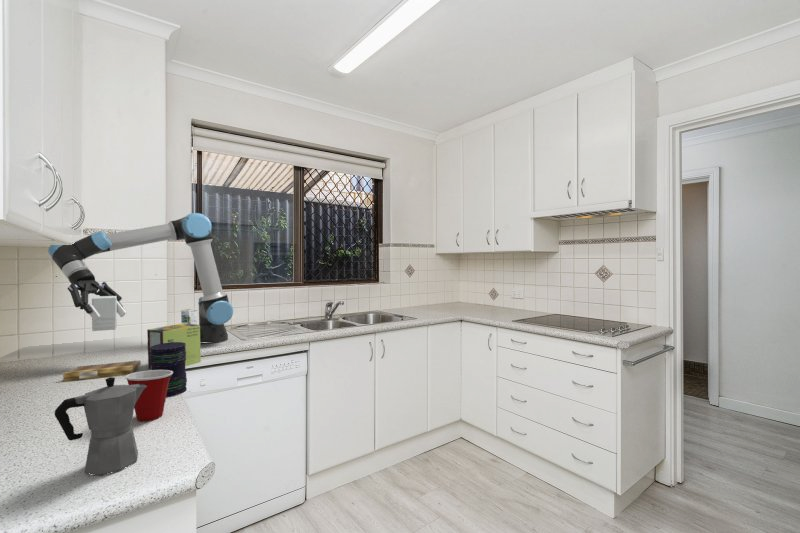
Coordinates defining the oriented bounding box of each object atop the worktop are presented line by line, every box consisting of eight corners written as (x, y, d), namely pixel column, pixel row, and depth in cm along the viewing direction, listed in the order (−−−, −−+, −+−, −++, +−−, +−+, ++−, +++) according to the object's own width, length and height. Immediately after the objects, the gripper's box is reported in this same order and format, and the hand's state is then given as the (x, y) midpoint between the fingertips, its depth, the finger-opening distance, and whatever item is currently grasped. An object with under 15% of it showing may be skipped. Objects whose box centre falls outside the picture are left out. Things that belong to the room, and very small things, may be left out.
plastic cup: (183, 411, 107) (182, 368, 106) (147, 427, 96) (146, 380, 96) (153, 407, 110) (152, 365, 109) (115, 422, 99) (114, 377, 99)
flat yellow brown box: (140, 364, 155) (140, 356, 155) (132, 374, 141) (132, 366, 141) (78, 370, 147) (78, 362, 147) (63, 382, 133) (62, 373, 133)
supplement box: (117, 326, 155) (117, 295, 154) (115, 330, 148) (116, 297, 148) (93, 328, 151) (94, 296, 150) (91, 331, 144) (91, 298, 144)
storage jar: (187, 393, 120) (186, 346, 120) (150, 400, 115) (149, 350, 115) (186, 385, 129) (185, 340, 128) (151, 390, 124) (150, 344, 123)
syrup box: (180, 335, 212) (180, 309, 212) (189, 333, 218) (189, 308, 217) (189, 336, 210) (188, 310, 210) (197, 334, 216) (197, 308, 216)
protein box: (201, 362, 157) (200, 324, 157) (163, 372, 144) (162, 331, 143) (185, 359, 162) (184, 322, 162) (147, 368, 149) (146, 329, 148)
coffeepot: (139, 444, 88) (137, 366, 87) (157, 457, 82) (155, 373, 82) (50, 476, 75) (47, 384, 75) (64, 493, 70) (61, 394, 69)
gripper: (101, 279, 163) (131, 318, 160) (41, 282, 141) (75, 328, 138) (111, 267, 162) (142, 306, 159) (53, 268, 140) (87, 314, 137)
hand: (111, 316), depth 149 cm, fingers closed on supplement box, 10 cm apart
